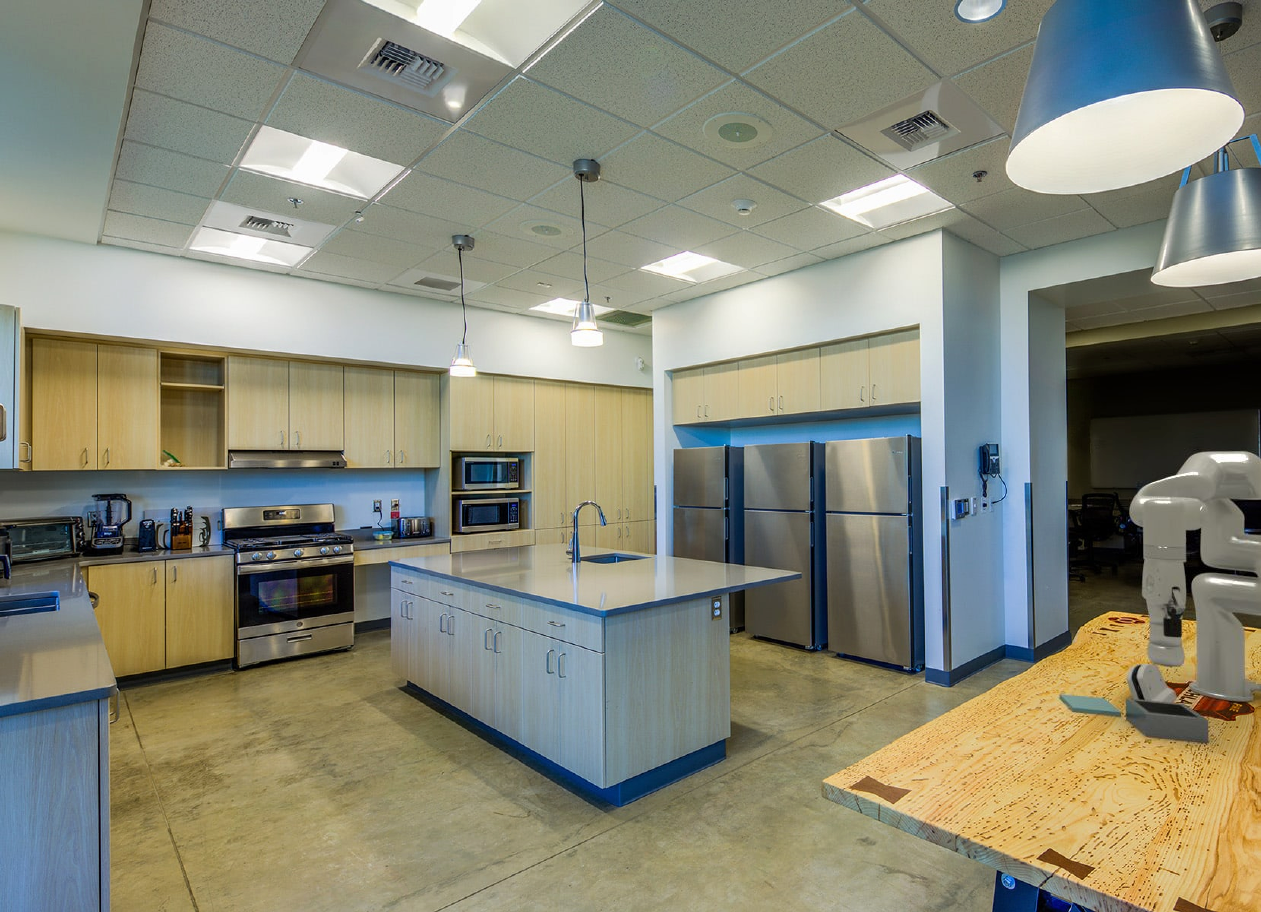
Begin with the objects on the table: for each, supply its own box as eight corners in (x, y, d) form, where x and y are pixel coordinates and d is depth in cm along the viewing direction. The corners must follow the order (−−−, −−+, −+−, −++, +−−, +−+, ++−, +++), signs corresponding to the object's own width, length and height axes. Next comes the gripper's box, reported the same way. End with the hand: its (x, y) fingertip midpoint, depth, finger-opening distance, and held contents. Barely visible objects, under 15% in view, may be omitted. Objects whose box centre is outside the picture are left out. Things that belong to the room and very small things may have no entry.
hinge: (1160, 712, 160) (1143, 670, 163) (1138, 713, 163) (1121, 672, 166) (1177, 697, 171) (1160, 658, 173) (1156, 698, 174) (1140, 660, 177)
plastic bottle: (1187, 672, 145) (1186, 581, 145) (1148, 667, 148) (1147, 578, 148) (1182, 664, 150) (1181, 576, 150) (1144, 659, 154) (1144, 574, 154)
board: (1104, 702, 167) (1104, 698, 167) (1121, 716, 157) (1121, 712, 157) (1059, 698, 170) (1059, 694, 170) (1073, 711, 160) (1073, 707, 160)
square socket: (1183, 725, 152) (1183, 703, 152) (1208, 743, 142) (1208, 720, 142) (1125, 719, 155) (1125, 698, 155) (1146, 736, 145) (1145, 714, 145)
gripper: (1128, 548, 159) (1129, 622, 158) (1162, 558, 142) (1163, 641, 142) (1165, 549, 156) (1166, 625, 156) (1205, 559, 140) (1206, 644, 140)
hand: (1165, 632), depth 149 cm, fingers closed on plastic bottle, 6 cm apart
